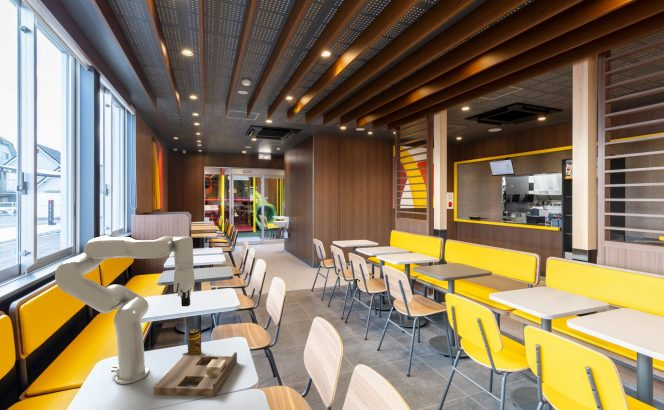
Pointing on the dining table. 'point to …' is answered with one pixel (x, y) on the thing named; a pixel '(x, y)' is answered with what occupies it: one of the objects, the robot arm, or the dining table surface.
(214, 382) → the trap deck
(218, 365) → the maple block
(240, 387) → the dining table surface
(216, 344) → the dining table surface
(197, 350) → the condiment
